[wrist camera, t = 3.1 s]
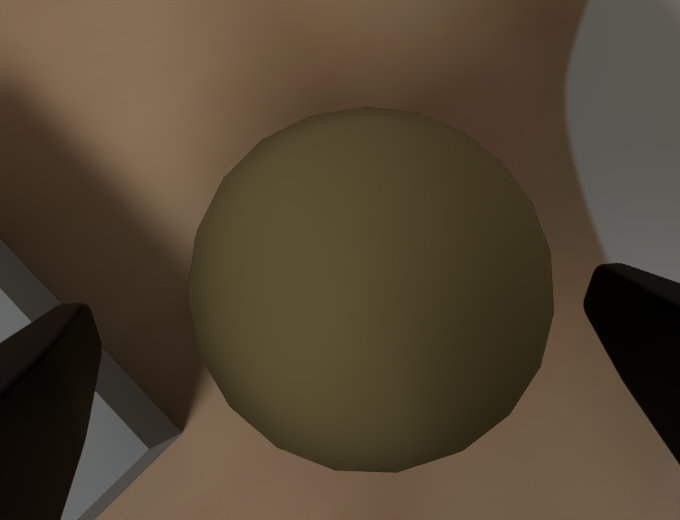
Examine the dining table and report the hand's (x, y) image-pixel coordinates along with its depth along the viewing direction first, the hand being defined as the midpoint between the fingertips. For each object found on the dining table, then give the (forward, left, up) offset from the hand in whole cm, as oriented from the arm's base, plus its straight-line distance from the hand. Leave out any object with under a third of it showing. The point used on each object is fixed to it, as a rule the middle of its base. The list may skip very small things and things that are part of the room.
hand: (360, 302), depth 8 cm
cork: (0, 0, -8) cm, 8 cm away
